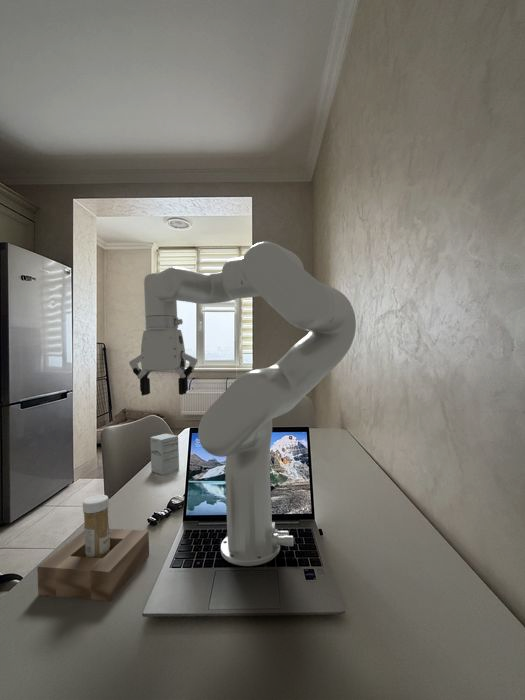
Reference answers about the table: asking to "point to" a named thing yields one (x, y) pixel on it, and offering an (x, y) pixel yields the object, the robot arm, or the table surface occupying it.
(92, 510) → the sprinkles bottle
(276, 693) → the table surface
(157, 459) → the supplement box
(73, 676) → the table surface
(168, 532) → the table surface
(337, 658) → the table surface
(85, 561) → the socket block
